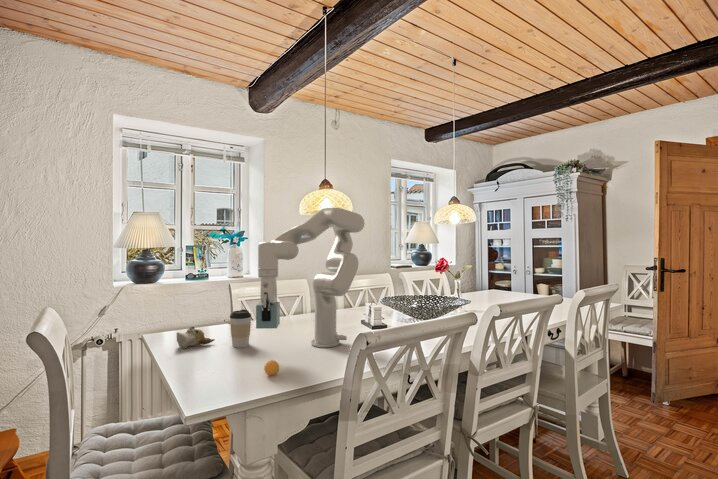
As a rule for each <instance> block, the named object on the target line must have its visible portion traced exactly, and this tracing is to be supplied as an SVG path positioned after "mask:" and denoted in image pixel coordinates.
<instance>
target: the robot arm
mask: <svg viewBox="0 0 718 479" xmlns="http://www.w3.org/2000/svg"><path fill="white" fill-rule="evenodd" d="M365 225H366V224H365V219H364V218H363V216H362V215H361V214H359V213H357V212H354V211H351V210H348V209H344V208H341V207H327V208H326V207H325V208H322V209H320V210H318V211H317V212H315V214H313V215H312V216H310V217H309V218H308V219H307V220H305V221H303V223H301V224H298V225H296V226H294V227H292V228H291V229H289V230H286V231H284V232H282V233H281V234H279V235H278V236H277V237H274V239H273V240H271V241H261V242H259V243H258V247H257V254H258V255H257V256H258V257H257V263H258V264H257V265H258V267H257V269H258V270H257V275H258V279H260V302H261V303H262V321H270V320H271V310H270V303H272V304H273V303H274V302H277V301H278V291H277V290H278V286H277V278H279V260H283V261H289V260H294V259H295V258H296V257H297V256H298V254H299V252H300V251H299V246H298V245H300V244H305V243H309V242H313V241H314V240H316V239H317V238H318V237H319V236H321V235H322V234H323V233H324V232H325V231H327V230H328V229H329V228H332V229H333V232H334V238H335V239H334V244H333V245H332V247H331V250H330V252H329V254H328V256H327V258H326V260H325V268H326V270H327V271H329V272H325V271H324V272H320V273H317V274H316V275H315V276H314V278H313V281H312V289H313V294H314V339H312V340H310V341H311V342H310V343H311V345H312V346H313V347H314V348H315V347H317V348H333V347H337V346H339V345H340V343H341V342H340V341H347V335H345V334H338V332H337V300H336V297H343V296H345V295H346V294H347V293H348V292H349V290H350V287H351V285H352V283H353V281H354V279H355V277H356V274H357V271H358V270H359V258H358V257H357V255H356V254H355V253H353V252H351V251H352V249H353V246H354V245H353V244H354V243H353V239H352V236H351V233H355V234H356V233H360V232H361V231H362V230H363V229H364V228H365Z"/></svg>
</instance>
